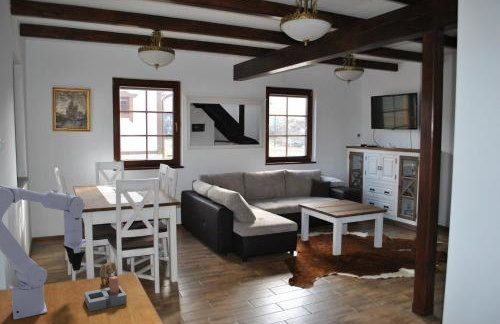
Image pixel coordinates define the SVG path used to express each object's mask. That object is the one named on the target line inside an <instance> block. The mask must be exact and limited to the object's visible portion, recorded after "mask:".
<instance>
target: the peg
mask: <svg viewBox="0 0 500 324" xmlns="http://www.w3.org/2000/svg"><path fill="white" fill-rule="evenodd" d="M119 281H120V280H119V276H118V275H117V276H114V275H113V276H111V277H110V278H109V285H108V286H109V287H110V295H115V294H119Z"/></svg>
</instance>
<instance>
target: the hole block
mask: <svg viewBox="0 0 500 324" xmlns="http://www.w3.org/2000/svg"><path fill="white" fill-rule="evenodd" d="M83 294H84V302H85V304H86V306H87V309H88V311H89V312H92V311H98V310H99V311H100V310H102V309H103V310H104V309H107V308H111V307H116V306H120V305H125V304H127V301H128V300H127V294H126V292H125V291H124V289H123V288H122V286H121V285H119V294H115V295H110V286H109V287H105V288H101V289H95V290H90V291H85V292H84V293H83Z"/></svg>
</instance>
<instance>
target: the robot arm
mask: <svg viewBox="0 0 500 324" xmlns="http://www.w3.org/2000/svg"><path fill="white" fill-rule="evenodd" d="M20 200H21V201H27V202H28V201H29V202H35V203H41V205H42V207H43V208H45V209H50V210H58V211H63V227H64V229H63V230H64V232H63V233H64V242H63V243H64V244H63V247H64V250H65V251H66V255H67V258H68V259H67V260H68V262H69V264H70V265H71V268H72V270H73V272H76V271H80V270H81V268H82V267H81V266H82V262H83V258H84V256H85V254H86V250H85V249H82V250H81V247H82V246H83V244H85V243H87V240H86V239H83V220H82V219H83V218H82V216H83V211H84V208H85V207H86V206H85V205H86V203H85V202H84V200H83V198H82V197H80V196H77V195H74V194H73V195H72V194H71V193H69V192H66V193H63V192H59V190H58V189H51V190H47V191H45V192H38V191H34V190H30V189H25V188H22V187H17V186H11V185H0V252H1V253H2V254H3V255H4V256H5V258H6V259H7V261H8V262H9V263H10V264H11V266H10V267H11V269H12V271H13V275H14V278H15V279H16V280H17V281H18V285H17V286H15V287H12V288H11V301H12V302H11V303H12V304H11V308H10V309H11V312H12V315H13V317H12V318H13V320H19V319H23V318H29V317H33V316H36V315H42V314H46V313H48V309H47V305H46V302H45V285H44V284H45V282H46V281H47V278H48V271H47V269H46V268H44V267H41V266H39V265H38V263H37V262H36V261H34V260H33V259H32V258H31V257H30V256H29V255H28V253H27V252H26V251H25V250H24V248H23V247H22V246H21V245H20V243H19V242H18V240H17V238H15V237H14V235H13V233H12V232H11V231H10V230H9V229H8V227H7V225H6V224H4V221H2V219H3V217H4V215H5V213H7V211H8V209H9V208H10V207H11V206H12V204H13V203H14V204H16V203H17V202H19V201H20Z"/></svg>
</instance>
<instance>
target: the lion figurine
mask: <svg viewBox="0 0 500 324" xmlns="http://www.w3.org/2000/svg"><path fill="white" fill-rule="evenodd" d="M116 267H117V266H116V263H115V262H114V261H109V262H107V263H103V264H102V265H101V266H100V267H99V270H98V271H99V272H98V273H99V277H100V282H101V283H100V286H104V285H105V281H104V280H107V285H108V286H109V278H110V277H112V276H111V275H112V274H114V275H113V276H117V277H118V271H117V268H116Z"/></svg>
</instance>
